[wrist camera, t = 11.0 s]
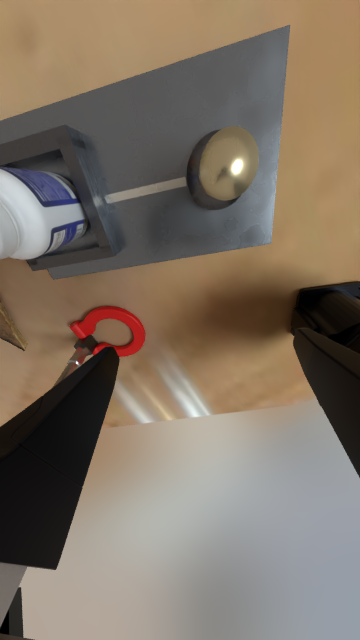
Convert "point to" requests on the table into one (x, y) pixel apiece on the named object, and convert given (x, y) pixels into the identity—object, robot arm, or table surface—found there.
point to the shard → (10, 330)
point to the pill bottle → (37, 213)
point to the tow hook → (90, 345)
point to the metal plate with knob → (164, 157)
